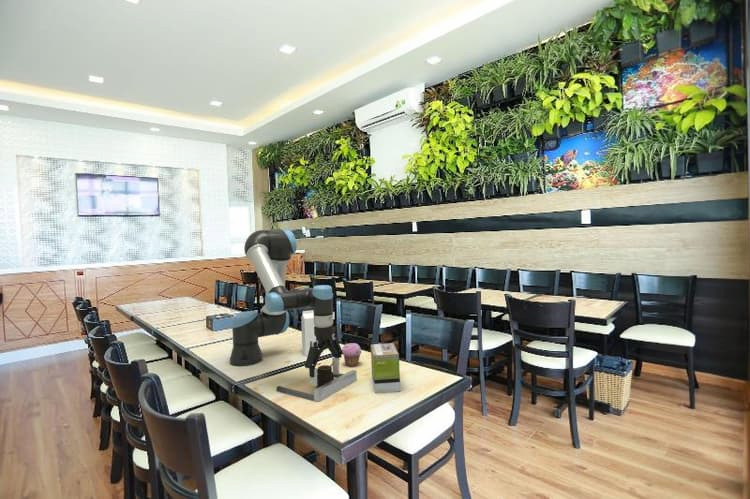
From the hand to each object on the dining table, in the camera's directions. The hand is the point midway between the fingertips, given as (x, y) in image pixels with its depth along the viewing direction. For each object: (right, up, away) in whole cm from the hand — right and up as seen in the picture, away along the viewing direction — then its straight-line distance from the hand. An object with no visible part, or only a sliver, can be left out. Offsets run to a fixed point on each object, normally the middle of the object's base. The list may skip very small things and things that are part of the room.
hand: (325, 379), depth 154 cm
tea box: (+24, -3, +1) cm, 24 cm away
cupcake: (+9, -2, +26) cm, 28 cm away
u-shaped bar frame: (-3, -3, +2) cm, 5 cm away
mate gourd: (0, -3, 0) cm, 4 cm away
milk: (-14, -2, +45) cm, 47 cm away
